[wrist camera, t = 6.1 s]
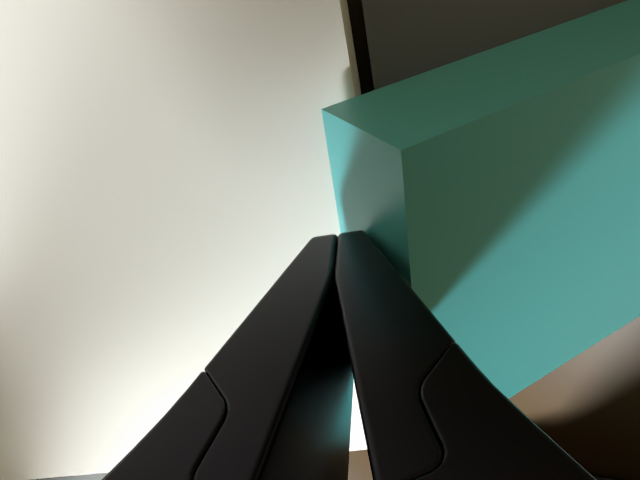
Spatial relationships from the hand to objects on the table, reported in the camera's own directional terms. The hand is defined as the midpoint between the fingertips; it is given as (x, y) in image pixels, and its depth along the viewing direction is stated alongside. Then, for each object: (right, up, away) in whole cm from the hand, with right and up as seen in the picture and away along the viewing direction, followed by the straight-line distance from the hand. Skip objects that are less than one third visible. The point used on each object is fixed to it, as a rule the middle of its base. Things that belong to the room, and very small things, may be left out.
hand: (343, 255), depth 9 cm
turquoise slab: (+4, +1, +2) cm, 4 cm away
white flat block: (-6, +2, +5) cm, 8 cm away
